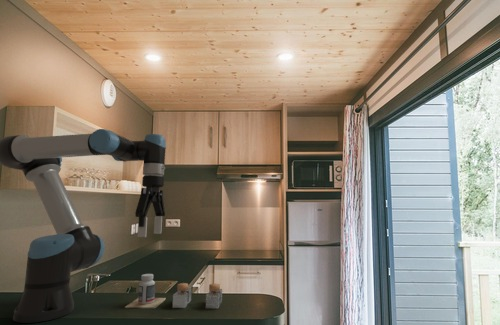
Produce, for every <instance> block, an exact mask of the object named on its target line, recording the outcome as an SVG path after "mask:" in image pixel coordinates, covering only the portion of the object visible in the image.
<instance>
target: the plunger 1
mask: <svg viewBox="0 0 500 325" xmlns="http://www.w3.org/2000/svg"><path fill="white" fill-rule="evenodd" d="M176 286H177V287H176V288H177V289H176V290H177V291H178V290H179V291H181V292H184V291H185V290H188V288H189V283H188V282H187V283H186V282H182V283H178V284H177V285H176Z"/></svg>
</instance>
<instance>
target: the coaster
mask: <svg viewBox="0 0 500 325" xmlns="http://www.w3.org/2000/svg"><path fill="white" fill-rule="evenodd" d="M166 299H167V298H166V297H155V299H154V302H152V303H149V304H139V303H138V297H137V298H136V299H134V300H133V301H131V302H130V303H128V304H127V305H126V306H124V308H125V309H154V310H155V309H156V308H158V306H160V305H161V304H162V303H164V301H165V300H166Z"/></svg>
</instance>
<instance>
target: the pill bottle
mask: <svg viewBox="0 0 500 325" xmlns="http://www.w3.org/2000/svg"><path fill="white" fill-rule="evenodd" d="M140 278H141V281H140V282H139V284H138V295H137V296H138V297H137V298H138V303H139V304H149V303H152V302H154V299H155V298H156V297H155V296H156V294H155V292H156V281H154V274H153V273H145V274H141V277H140Z"/></svg>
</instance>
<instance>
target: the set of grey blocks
mask: <svg viewBox="0 0 500 325" xmlns="http://www.w3.org/2000/svg"><path fill="white" fill-rule="evenodd" d="M191 301H192V287H191V288H189V287H188V290H185V291H184V292H181V291H179V290H177V291H176V292H175V293H174V294H172V309H185V308H186V307H187V306H188V304H190V303H191ZM222 302H223V288H220V290H219V291H216V293H213V291H209V290H208V292H207V293H206V295H205V310H206V309H208V310H209V309H214V310H215V309H216V310H218V309H219V308H220V306H221V304H222Z"/></svg>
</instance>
